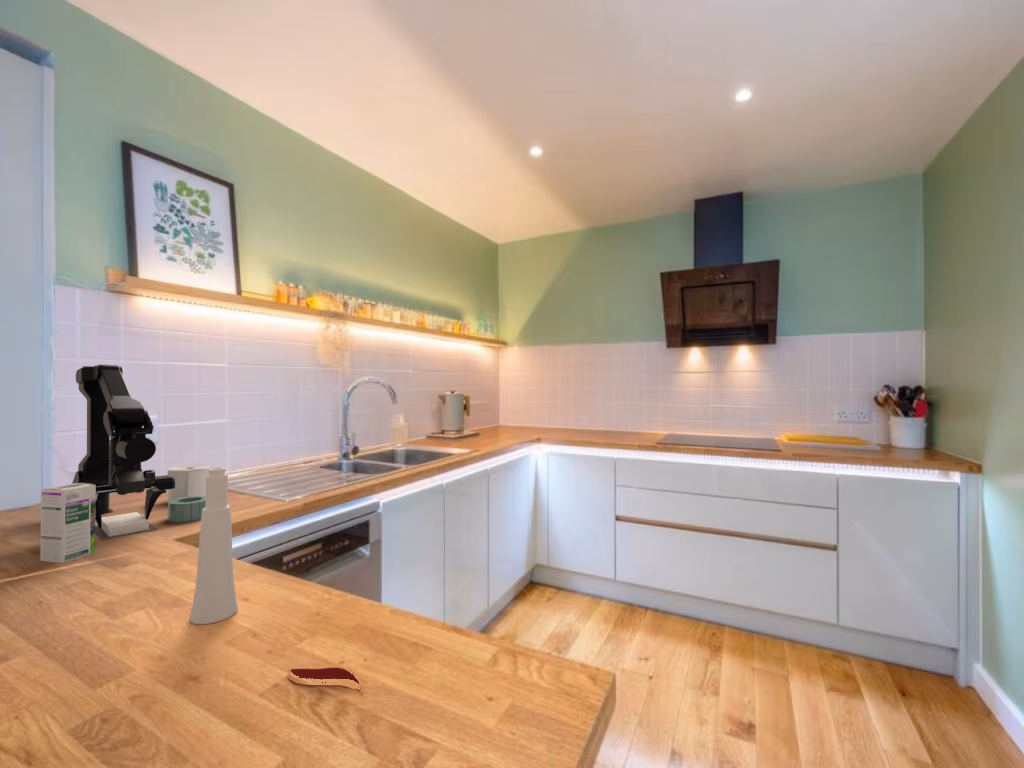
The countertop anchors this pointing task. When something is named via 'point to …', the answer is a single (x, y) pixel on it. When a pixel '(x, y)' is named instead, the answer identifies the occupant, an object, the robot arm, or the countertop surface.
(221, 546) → the cosmetic bottle
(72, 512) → the syrup box
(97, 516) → the robot arm
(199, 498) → the bowl
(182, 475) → the toilet tissue
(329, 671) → the cayenne pepper
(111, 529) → the white rectangular block
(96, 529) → the mat
